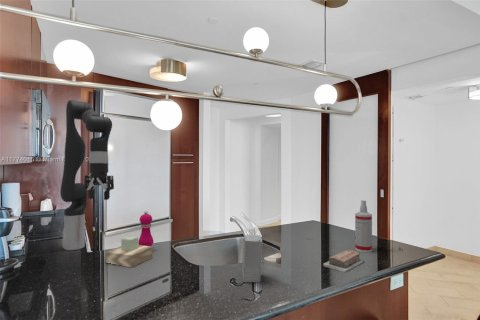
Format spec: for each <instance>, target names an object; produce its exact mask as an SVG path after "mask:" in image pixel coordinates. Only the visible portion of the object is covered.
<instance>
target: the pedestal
mask: <svg viewBox="0 0 480 320" xmlns="http://www.w3.org/2000/svg"><path fill="white" fill-rule="evenodd" d="M153 248H154V247H153V245H152V246H143V245H139V244H138V248H137V249H135V250H133V251H123V250H121V246H118V247H116V248H113V249H110V250H107V251H106V252H105V263H106V262H107V263H111V264H110V265H112V264H116V265H115V266H119V265H121V266H120V267H127V268H133V267H136V266H138V265H140V264H142V263H144V262H145V261H148V260H150V259H153V253H154V251H153Z"/></svg>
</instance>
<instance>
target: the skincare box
mask: <svg viewBox="0 0 480 320" xmlns="http://www.w3.org/2000/svg"><path fill="white" fill-rule="evenodd" d="M242 253H243V254H242V267H241V268H242V270H241V274H242V275H241V276H242V280H243V282H244V283H261V275H262V253H263V241H262V237H261V235H259V234H244V236H243V252H242Z"/></svg>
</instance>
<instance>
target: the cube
mask: <svg viewBox="0 0 480 320" xmlns="http://www.w3.org/2000/svg"><path fill="white" fill-rule="evenodd" d="M138 241H139V237H138V236H126V237H123V238H121V241H120V242H121V245H120V247H121V250H123V251H133V250H135V249H137V248H138V245H139V244H138Z"/></svg>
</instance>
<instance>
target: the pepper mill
mask: <svg viewBox="0 0 480 320" xmlns="http://www.w3.org/2000/svg"><path fill="white" fill-rule="evenodd" d="M152 221H153V216H152V215H151V214H149V212H148V211H147V210H145V211H143V214H141V215H140V217H139V223H140V228H141V232H140V236H139V237H138V245H143V246H152V247H153V245H154V238H153V236H152V233H151V227H152Z"/></svg>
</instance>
